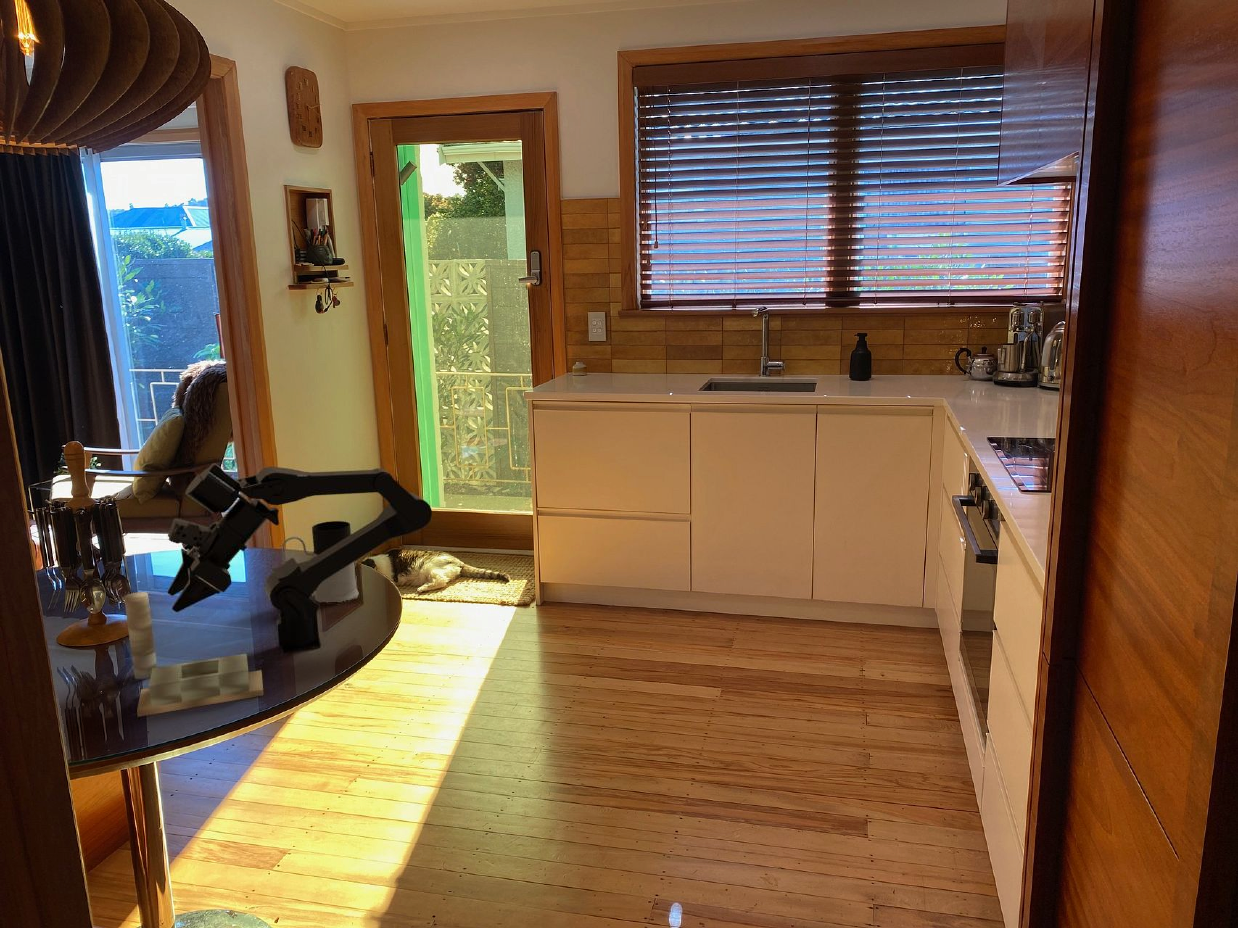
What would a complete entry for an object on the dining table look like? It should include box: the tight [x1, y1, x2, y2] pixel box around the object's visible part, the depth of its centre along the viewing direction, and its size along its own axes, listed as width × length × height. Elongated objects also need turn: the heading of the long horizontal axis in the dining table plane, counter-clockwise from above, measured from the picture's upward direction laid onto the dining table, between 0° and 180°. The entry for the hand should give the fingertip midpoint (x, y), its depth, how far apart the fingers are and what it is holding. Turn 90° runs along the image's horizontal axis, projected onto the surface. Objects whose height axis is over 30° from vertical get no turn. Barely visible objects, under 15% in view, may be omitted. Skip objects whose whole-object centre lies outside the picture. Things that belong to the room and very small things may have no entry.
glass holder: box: [281, 520, 360, 604], centre depth 193 cm, size 9×14×15 cm, turn 116°
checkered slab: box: [136, 653, 264, 717], centre depth 150 cm, size 18×8×4 cm, turn 112°
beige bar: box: [123, 591, 158, 680], centre depth 157 cm, size 4×4×14 cm
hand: (171, 602), depth 159 cm, fingers open, 9 cm apart
